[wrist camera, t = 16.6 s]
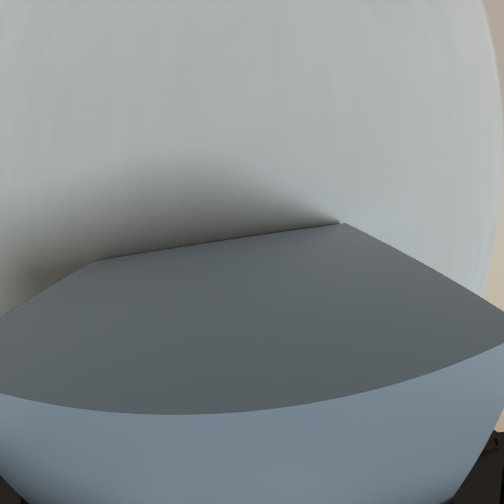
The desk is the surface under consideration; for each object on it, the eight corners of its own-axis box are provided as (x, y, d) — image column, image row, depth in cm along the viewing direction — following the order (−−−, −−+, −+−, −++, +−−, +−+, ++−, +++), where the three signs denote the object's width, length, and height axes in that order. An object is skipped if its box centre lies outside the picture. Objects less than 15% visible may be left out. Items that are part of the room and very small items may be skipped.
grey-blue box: (348, 420, 13) (394, 563, 5) (159, 437, 14) (118, 569, 5) (345, 223, 11) (530, 329, 2) (93, 261, 11) (-71, 368, 3)
